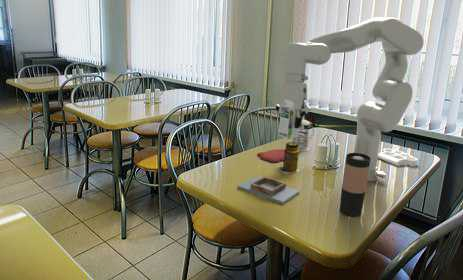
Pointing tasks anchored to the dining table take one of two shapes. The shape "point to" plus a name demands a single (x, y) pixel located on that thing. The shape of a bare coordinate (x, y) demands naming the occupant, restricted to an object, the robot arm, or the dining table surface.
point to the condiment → (290, 158)
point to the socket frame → (265, 190)
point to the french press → (303, 137)
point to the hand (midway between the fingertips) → (289, 125)
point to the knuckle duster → (397, 157)
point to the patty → (272, 156)
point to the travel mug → (354, 184)
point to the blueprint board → (279, 197)
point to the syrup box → (288, 120)
